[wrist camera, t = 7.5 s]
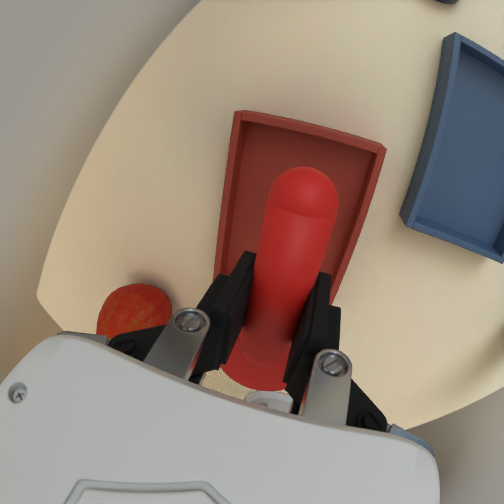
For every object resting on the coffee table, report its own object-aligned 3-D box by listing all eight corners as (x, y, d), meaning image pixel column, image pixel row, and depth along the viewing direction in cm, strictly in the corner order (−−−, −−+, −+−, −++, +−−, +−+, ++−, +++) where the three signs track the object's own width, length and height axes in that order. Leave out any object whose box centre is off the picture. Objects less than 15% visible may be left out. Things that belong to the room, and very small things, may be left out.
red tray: (221, 272, 30) (212, 286, 28) (244, 110, 21) (234, 111, 19) (326, 302, 28) (325, 320, 26) (381, 143, 20) (387, 148, 18)
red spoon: (371, 178, 10) (381, 199, 8) (290, 383, 16) (283, 415, 14) (255, 147, 10) (234, 160, 8) (221, 362, 17) (207, 392, 15)
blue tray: (399, 214, 22) (405, 226, 20) (443, 37, 14) (454, 31, 11) (491, 250, 20) (502, 264, 18) (539, 98, 12) (554, 100, 10)
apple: (158, 261, 32) (101, 321, 23) (195, 316, 34) (153, 383, 25) (118, 277, 35) (66, 328, 26) (151, 325, 38) (110, 380, 29)
